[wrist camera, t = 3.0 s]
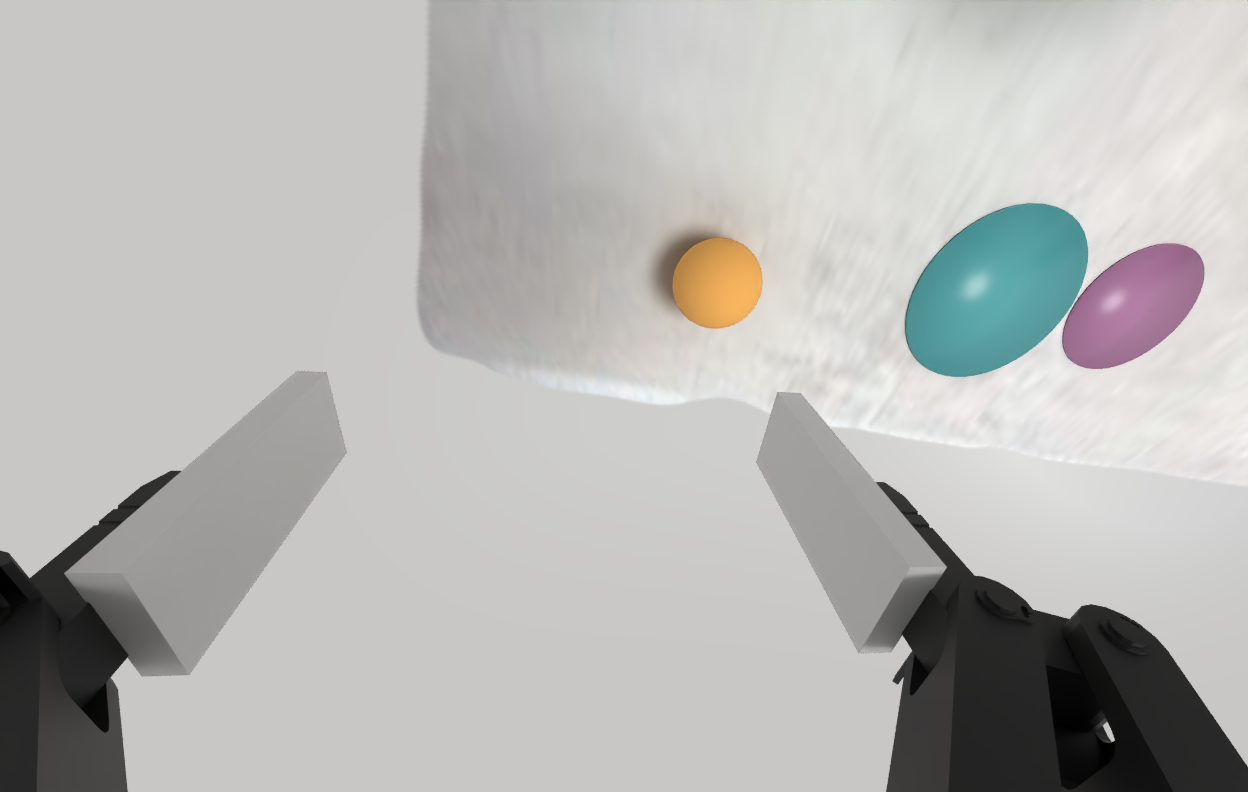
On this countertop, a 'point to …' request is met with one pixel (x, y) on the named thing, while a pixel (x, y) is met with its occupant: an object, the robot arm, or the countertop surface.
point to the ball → (717, 283)
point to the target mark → (996, 290)
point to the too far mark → (1133, 306)
